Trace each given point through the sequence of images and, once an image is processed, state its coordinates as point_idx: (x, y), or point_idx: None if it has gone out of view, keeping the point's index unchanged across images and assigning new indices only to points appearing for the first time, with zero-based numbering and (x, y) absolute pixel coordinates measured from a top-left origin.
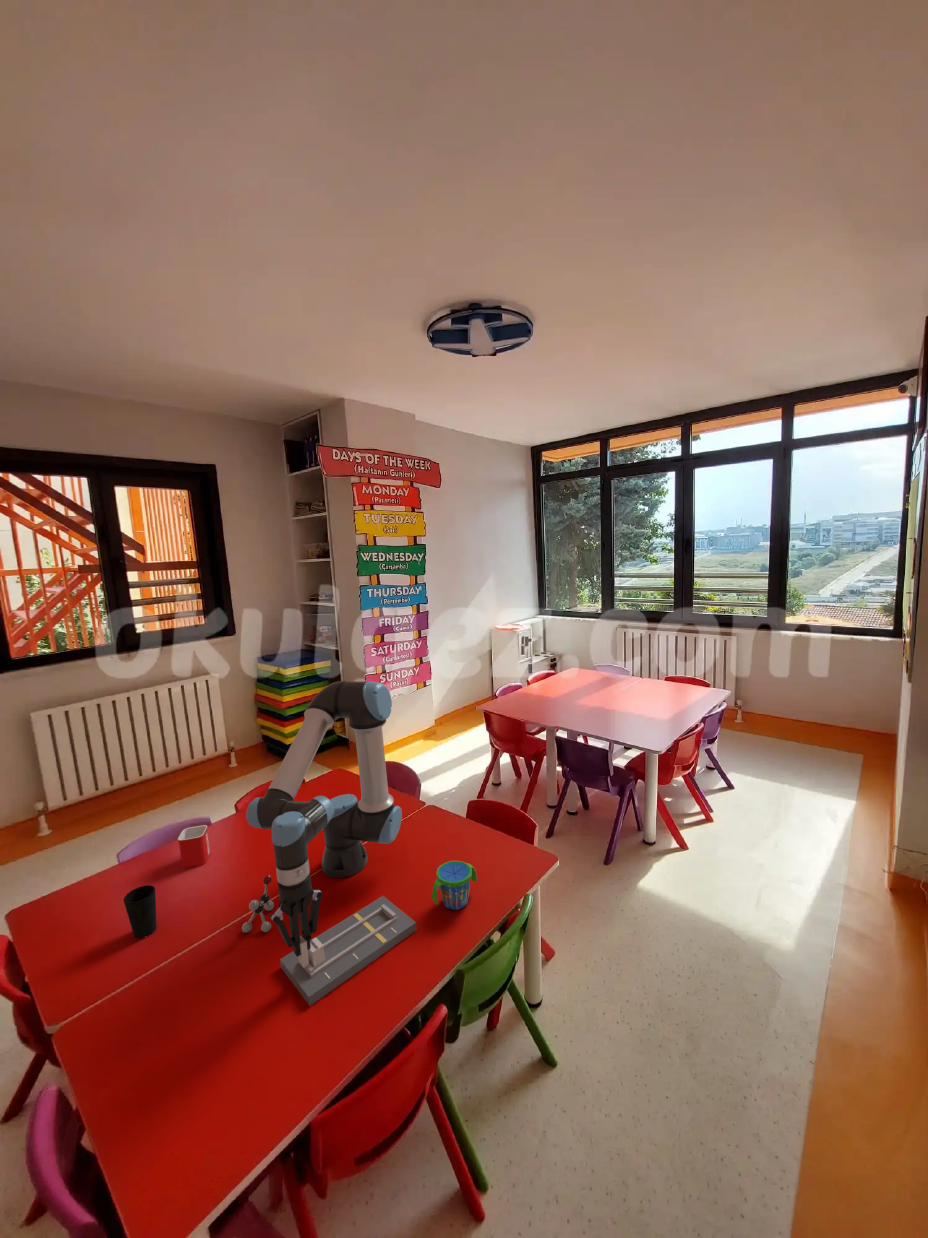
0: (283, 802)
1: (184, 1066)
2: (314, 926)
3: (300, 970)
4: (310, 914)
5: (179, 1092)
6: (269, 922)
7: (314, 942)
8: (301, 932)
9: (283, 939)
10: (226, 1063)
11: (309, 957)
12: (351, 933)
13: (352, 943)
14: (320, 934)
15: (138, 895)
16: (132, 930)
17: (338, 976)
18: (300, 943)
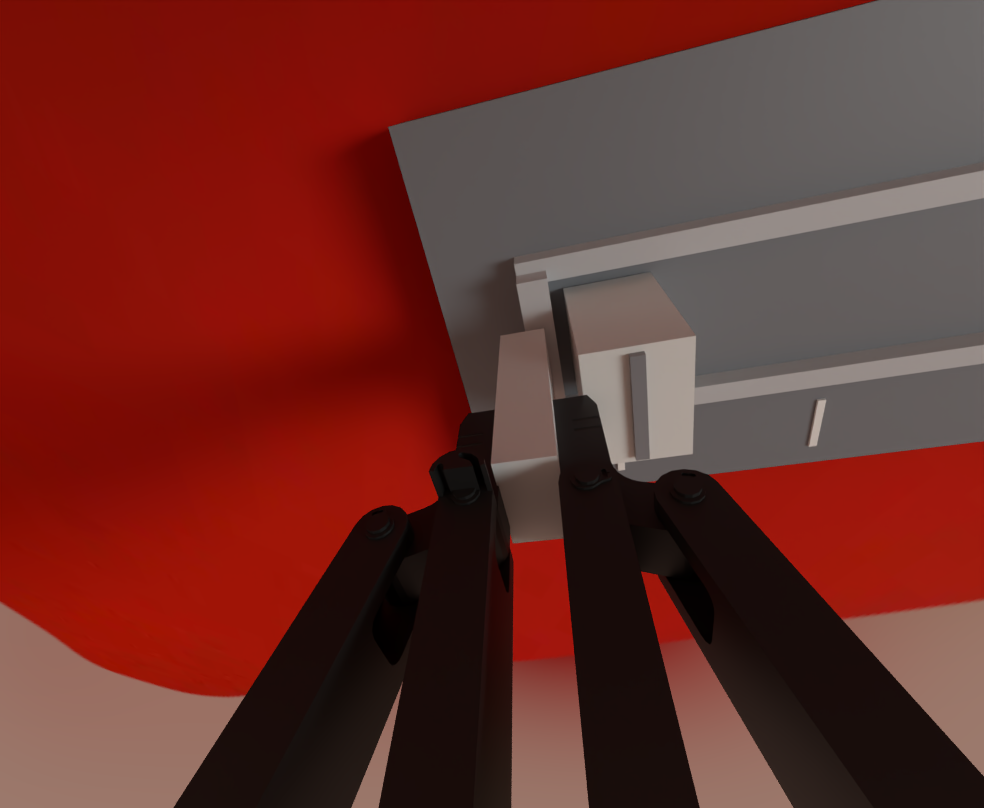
0: None
1: (18, 437)
2: (710, 619)
3: (504, 333)
4: (780, 707)
5: (51, 506)
6: None
7: (653, 386)
8: (560, 502)
9: (336, 568)
10: (186, 500)
11: (575, 365)
12: (976, 212)
13: (889, 320)
14: (794, 25)
15: None
16: None
17: None
18: (514, 534)
